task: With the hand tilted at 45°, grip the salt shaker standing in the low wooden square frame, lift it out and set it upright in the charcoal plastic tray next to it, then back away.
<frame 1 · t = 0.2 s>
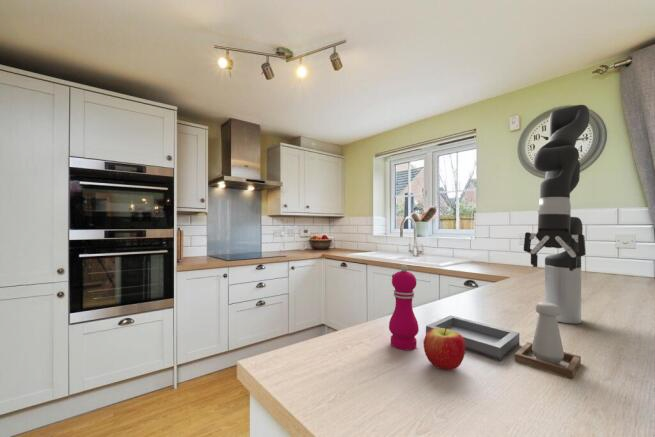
hand: (552, 268, 86), 18 cm above the worktop, tool pointing down, fingers open, 8 cm apart
tray: (471, 340, 76), on the worktop
wooden square frame: (547, 361, 65), on the worktop
pepper mill: (403, 345, 73), on the worktop
apple: (443, 367, 62), on the worktop
salt shaker: (547, 362, 65), resting in wooden square frame
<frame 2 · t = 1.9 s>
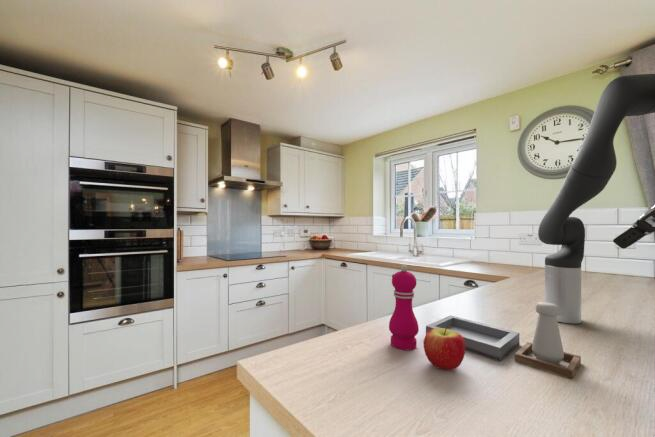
hand: (619, 244, 57), 27 cm above the worktop, tool tilted 45°, fingers open, 8 cm apart
nothing on the worktop moved.
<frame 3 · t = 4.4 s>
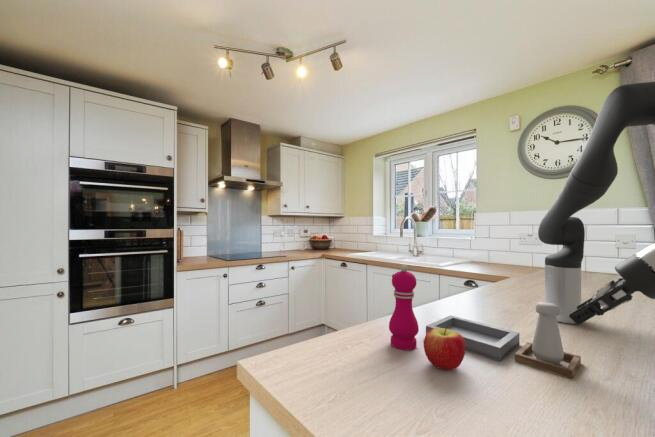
hand: (576, 315, 61), 11 cm above the worktop, tool tilted 45°, fingers open, 8 cm apart
nothing on the worktop moved.
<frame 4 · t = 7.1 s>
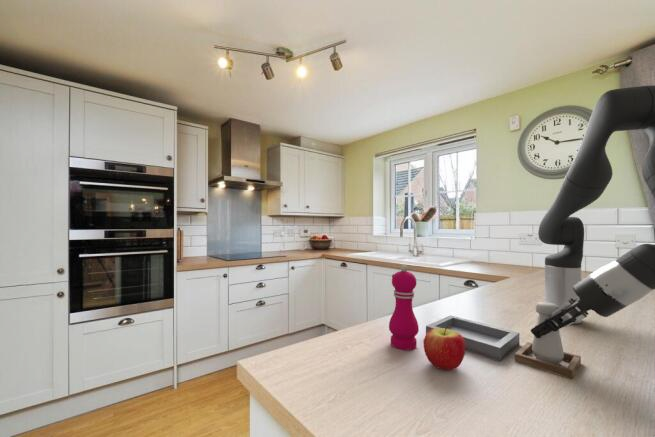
hand: (536, 332, 67), 6 cm above the worktop, tool tilted 45°, fingers closed on salt shaker, 3 cm apart
salt shaker: (547, 362, 65), resting in wooden square frame, touching gripper
everything else where it was.
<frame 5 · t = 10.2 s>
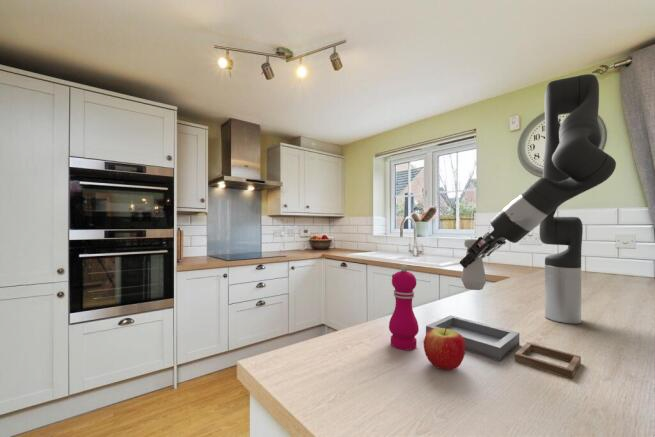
hand: (465, 264, 78), 20 cm above the worktop, tool tilted 45°, fingers closed on salt shaker, 3 cm apart
salt shaker: (473, 289, 76), point 14 cm above the worktop, touching gripper
everything else where it was.
when the fingers open (8 cm above the worktop, at t = 13.1 s): salt shaker drops 1 cm, resting on tray.
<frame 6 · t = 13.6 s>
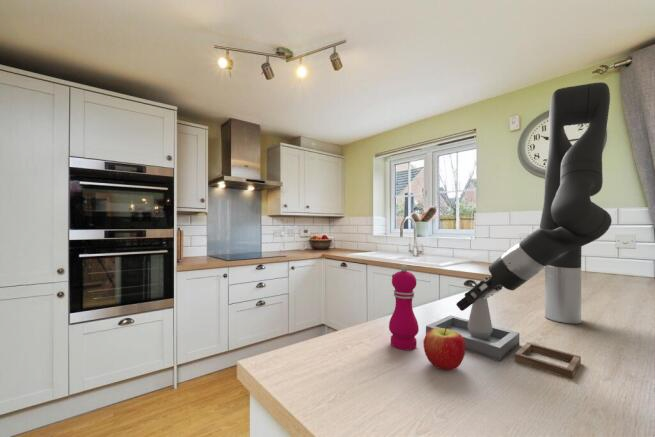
hand: (466, 304, 77), 9 cm above the worktop, tool tilted 45°, fingers open, 8 cm apart
salt shaker: (479, 337, 77), point 1 cm above the worktop, touching tray
everything else where it was.
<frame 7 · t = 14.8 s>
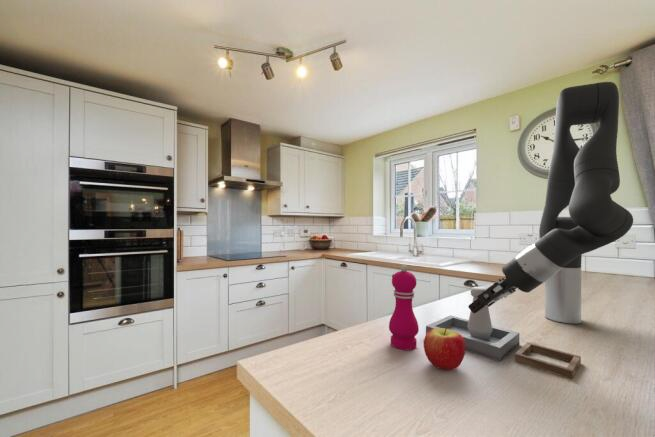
hand: (478, 306, 75), 9 cm above the worktop, tool tilted 45°, fingers open, 8 cm apart
nothing on the worktop moved.
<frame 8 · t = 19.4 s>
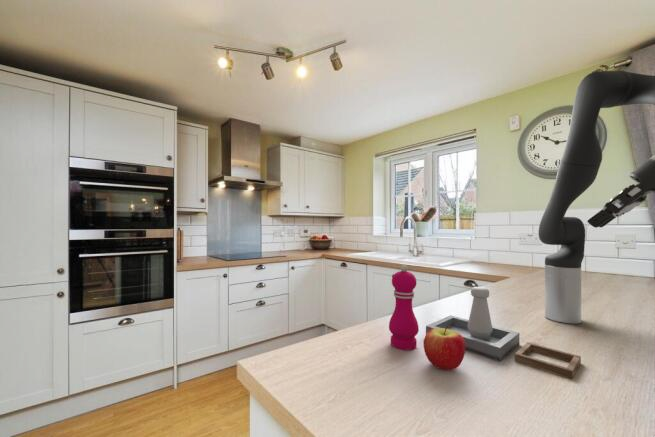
hand: (593, 224, 67), 31 cm above the worktop, tool tilted 45°, fingers open, 8 cm apart
nothing on the worktop moved.
at the end: salt shaker inside the target area on the tray (2.4 cm from its centre), point 0.6 cm above the tray's base; salt shaker tilted 0°; the gripper is holding nothing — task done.
